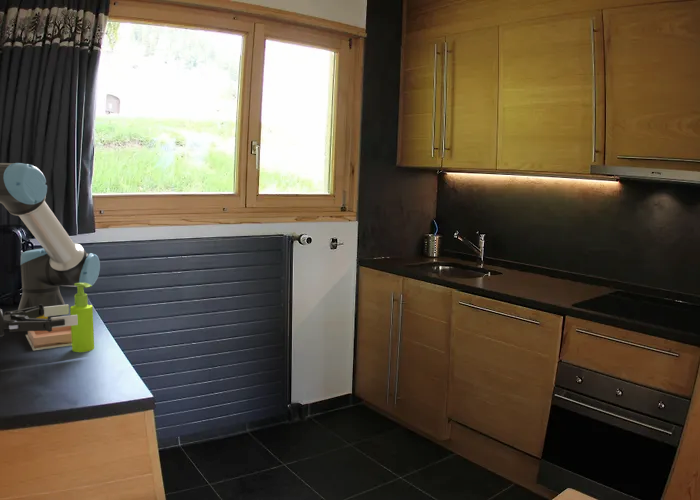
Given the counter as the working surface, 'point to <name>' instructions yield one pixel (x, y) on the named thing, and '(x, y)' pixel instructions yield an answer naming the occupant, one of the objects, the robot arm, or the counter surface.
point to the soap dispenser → (82, 321)
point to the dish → (50, 337)
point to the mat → (46, 347)
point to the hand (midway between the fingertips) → (73, 314)
